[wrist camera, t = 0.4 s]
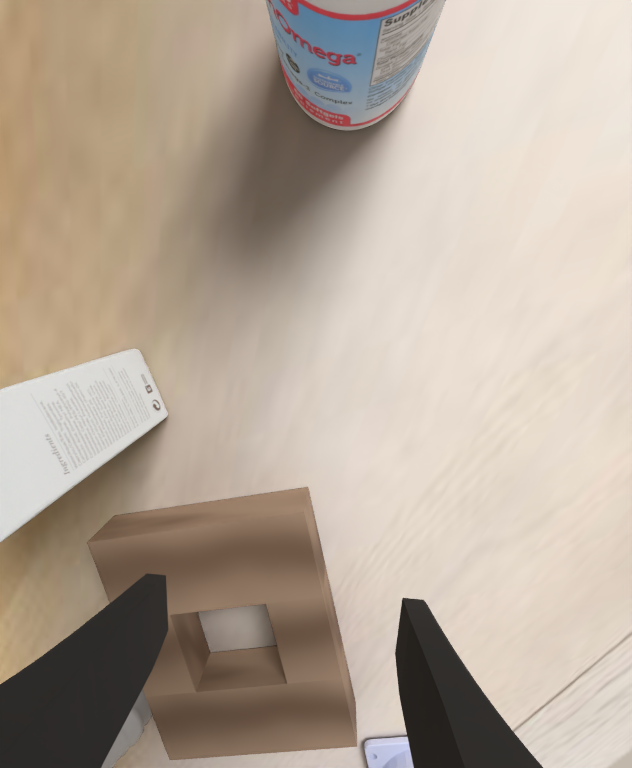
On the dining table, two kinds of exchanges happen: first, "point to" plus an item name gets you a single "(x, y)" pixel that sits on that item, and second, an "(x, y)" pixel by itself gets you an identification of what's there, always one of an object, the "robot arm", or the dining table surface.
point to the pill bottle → (352, 54)
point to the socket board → (228, 590)
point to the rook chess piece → (129, 730)
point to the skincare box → (69, 429)
